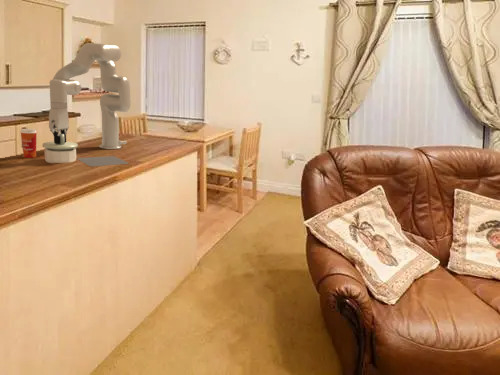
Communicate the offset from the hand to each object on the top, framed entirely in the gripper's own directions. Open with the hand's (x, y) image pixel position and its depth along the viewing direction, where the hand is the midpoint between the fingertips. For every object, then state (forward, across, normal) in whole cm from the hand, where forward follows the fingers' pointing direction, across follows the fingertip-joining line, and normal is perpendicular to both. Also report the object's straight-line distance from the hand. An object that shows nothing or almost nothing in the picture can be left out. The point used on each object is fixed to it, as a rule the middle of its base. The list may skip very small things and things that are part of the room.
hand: (60, 142), depth 214 cm
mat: (+9, -8, +18) cm, 22 cm away
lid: (+2, 0, 0) cm, 2 cm away
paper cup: (+9, 0, -17) cm, 19 cm away
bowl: (+9, 0, 0) cm, 9 cm away
